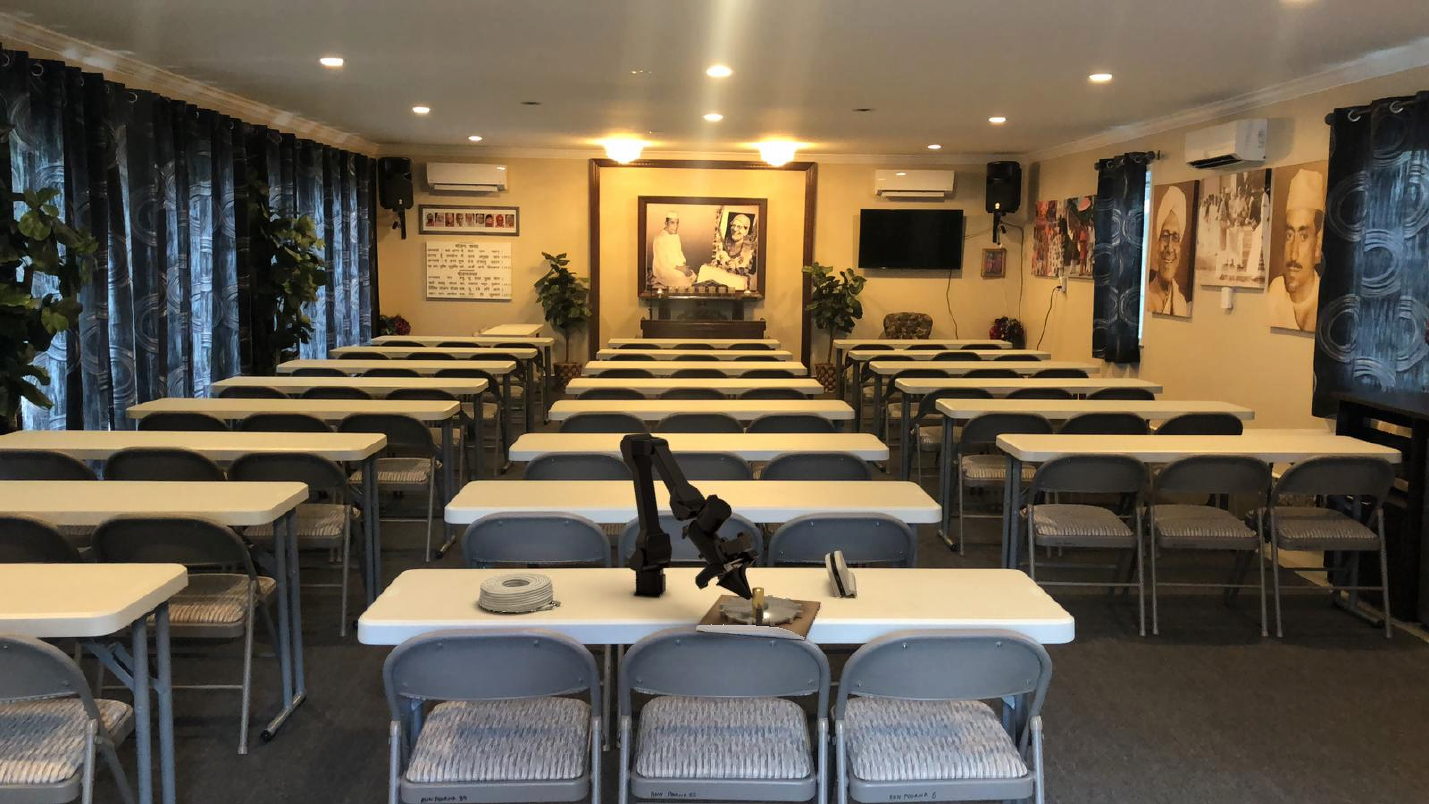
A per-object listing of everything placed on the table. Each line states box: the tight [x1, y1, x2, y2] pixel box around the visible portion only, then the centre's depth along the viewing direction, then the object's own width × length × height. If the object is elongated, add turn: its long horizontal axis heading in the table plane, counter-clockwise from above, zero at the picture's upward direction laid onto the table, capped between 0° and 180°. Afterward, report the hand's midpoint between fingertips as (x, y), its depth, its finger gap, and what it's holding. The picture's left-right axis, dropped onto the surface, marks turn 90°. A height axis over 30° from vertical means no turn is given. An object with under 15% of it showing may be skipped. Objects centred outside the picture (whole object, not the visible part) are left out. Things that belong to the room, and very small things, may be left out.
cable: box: [478, 572, 562, 613], centre depth 253 cm, size 18×18×6 cm
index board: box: [697, 594, 822, 639], centre depth 242 cm, size 24×24×6 cm
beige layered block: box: [824, 550, 858, 599], centre depth 264 cm, size 17×5×10 cm, turn 174°
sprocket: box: [719, 586, 802, 627], centre depth 241 cm, size 19×19×8 cm
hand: (750, 598), depth 234 cm, fingers closed
